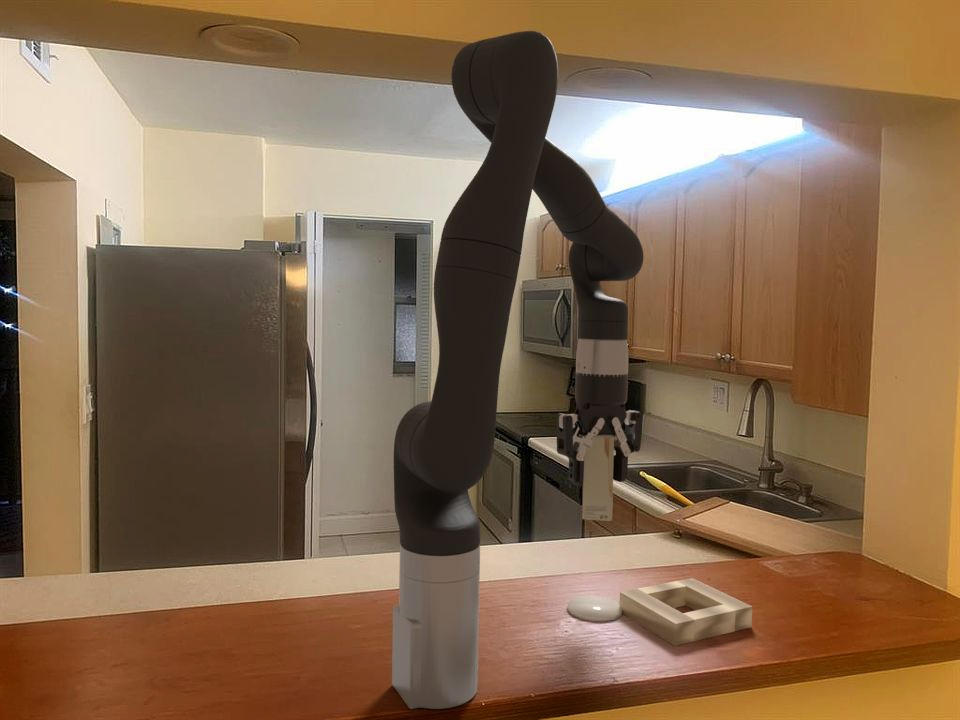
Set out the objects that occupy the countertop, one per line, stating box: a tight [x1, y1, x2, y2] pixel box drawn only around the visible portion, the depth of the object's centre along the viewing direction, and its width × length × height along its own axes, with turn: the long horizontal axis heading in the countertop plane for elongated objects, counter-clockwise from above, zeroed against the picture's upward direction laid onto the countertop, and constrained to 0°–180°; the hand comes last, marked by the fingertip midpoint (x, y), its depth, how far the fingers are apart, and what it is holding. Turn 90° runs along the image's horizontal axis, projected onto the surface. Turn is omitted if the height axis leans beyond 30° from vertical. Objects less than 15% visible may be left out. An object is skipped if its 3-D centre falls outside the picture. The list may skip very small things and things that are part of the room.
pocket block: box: [619, 577, 753, 647], centre depth 103 cm, size 14×12×3 cm
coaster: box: [567, 595, 623, 623], centre depth 106 cm, size 8×8×1 cm
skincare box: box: [581, 435, 615, 522], centre depth 105 cm, size 6×4×12 cm
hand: (598, 482), depth 105 cm, fingers closed on skincare box, 7 cm apart
